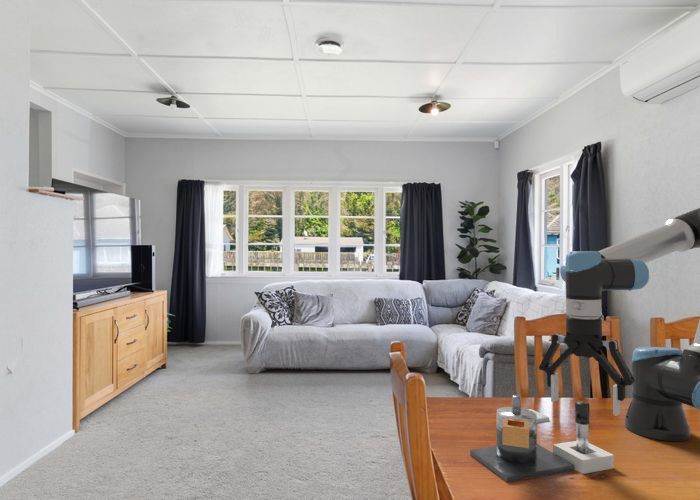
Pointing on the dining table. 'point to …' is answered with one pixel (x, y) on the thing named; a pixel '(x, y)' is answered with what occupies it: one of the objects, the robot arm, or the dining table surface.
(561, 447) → the white flat square block
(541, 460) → the dark square base plate
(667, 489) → the dining table surface
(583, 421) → the black and grey rod
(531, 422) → the grey and tan piece
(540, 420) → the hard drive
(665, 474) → the dining table surface
